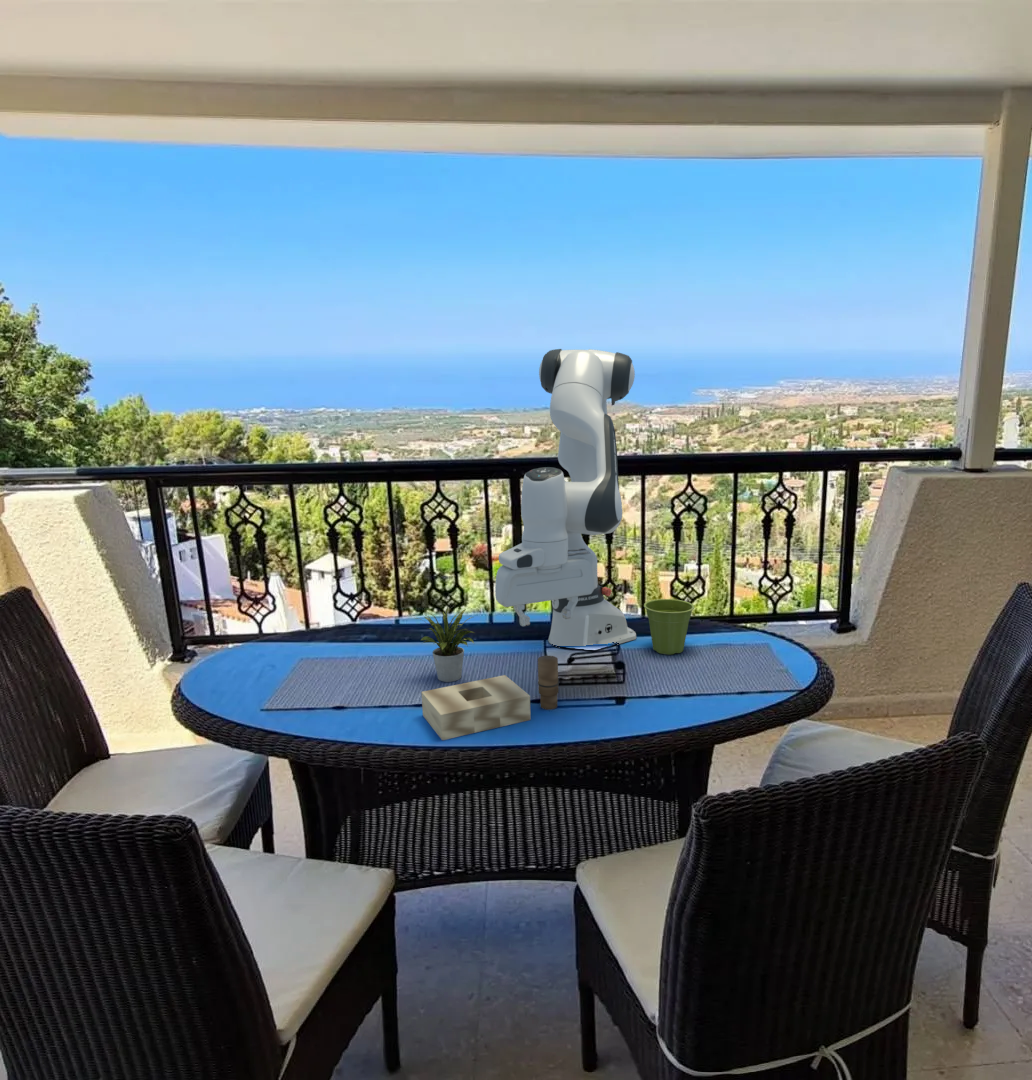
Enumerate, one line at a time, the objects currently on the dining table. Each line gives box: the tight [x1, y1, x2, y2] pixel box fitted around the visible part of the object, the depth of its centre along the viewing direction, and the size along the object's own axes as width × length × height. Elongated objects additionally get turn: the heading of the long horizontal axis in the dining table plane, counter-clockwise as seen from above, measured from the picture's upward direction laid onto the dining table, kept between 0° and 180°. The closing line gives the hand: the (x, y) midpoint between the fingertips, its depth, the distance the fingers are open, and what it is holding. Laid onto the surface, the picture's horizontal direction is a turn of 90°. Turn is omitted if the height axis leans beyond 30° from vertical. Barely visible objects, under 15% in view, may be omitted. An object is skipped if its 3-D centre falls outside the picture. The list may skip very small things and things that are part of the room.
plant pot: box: [643, 598, 695, 656], centre depth 175 cm, size 12×12×11 cm
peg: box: [537, 655, 560, 711], centre depth 146 cm, size 4×4×10 cm
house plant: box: [415, 607, 476, 683], centre depth 161 cm, size 14×14×16 cm
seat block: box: [421, 674, 531, 741], centre depth 142 cm, size 18×12×5 cm, turn 114°
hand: (546, 621), depth 143 cm, fingers open, 8 cm apart
